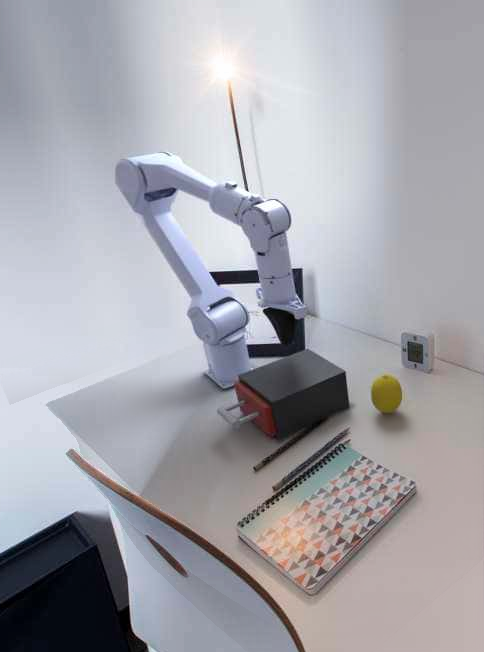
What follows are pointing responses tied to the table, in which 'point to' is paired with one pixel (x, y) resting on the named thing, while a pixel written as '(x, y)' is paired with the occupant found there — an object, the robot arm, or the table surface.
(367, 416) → the table surface
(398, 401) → the lemon
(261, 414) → the drawer
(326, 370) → the dark grey box
